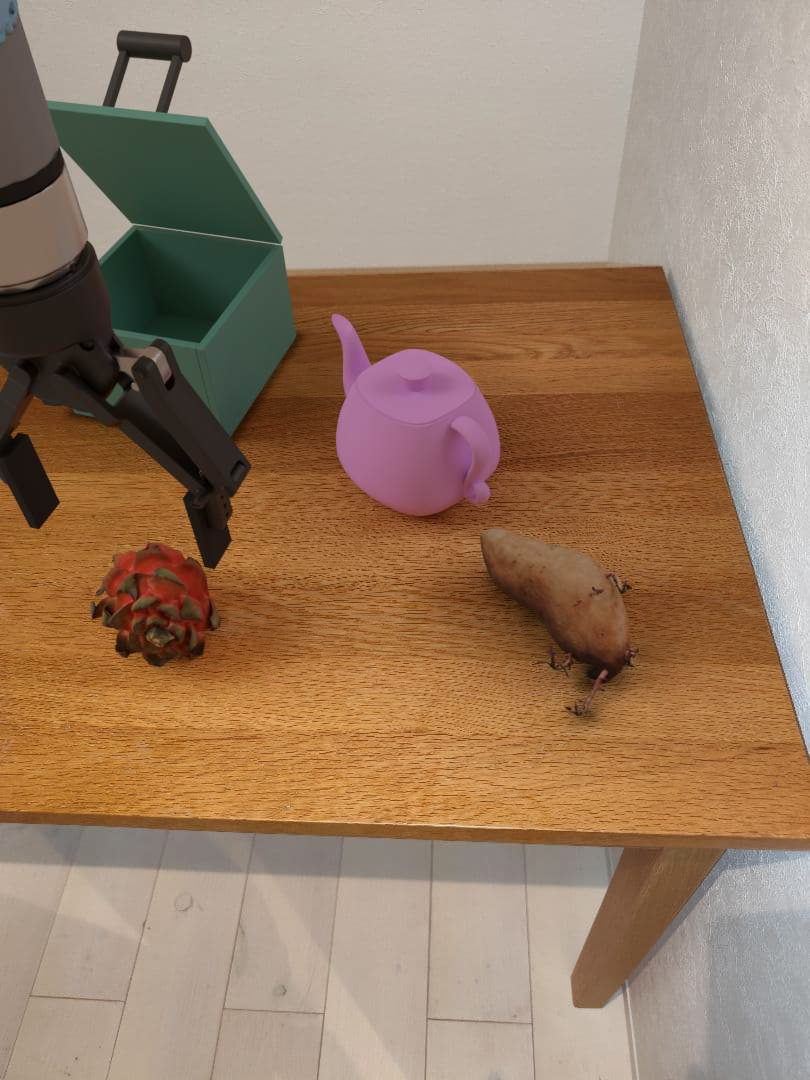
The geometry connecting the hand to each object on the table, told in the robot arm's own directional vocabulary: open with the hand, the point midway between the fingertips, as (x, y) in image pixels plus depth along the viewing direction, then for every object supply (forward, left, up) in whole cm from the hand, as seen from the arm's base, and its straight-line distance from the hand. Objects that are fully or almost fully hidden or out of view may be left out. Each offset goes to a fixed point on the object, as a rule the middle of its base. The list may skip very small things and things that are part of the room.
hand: (129, 534), depth 62 cm
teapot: (+13, +23, -12) cm, 29 cm away
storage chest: (-13, +30, -11) cm, 35 cm away
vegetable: (+28, +8, -12) cm, 31 cm away
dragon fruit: (0, 0, -12) cm, 12 cm away
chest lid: (-13, +34, +8) cm, 37 cm away
